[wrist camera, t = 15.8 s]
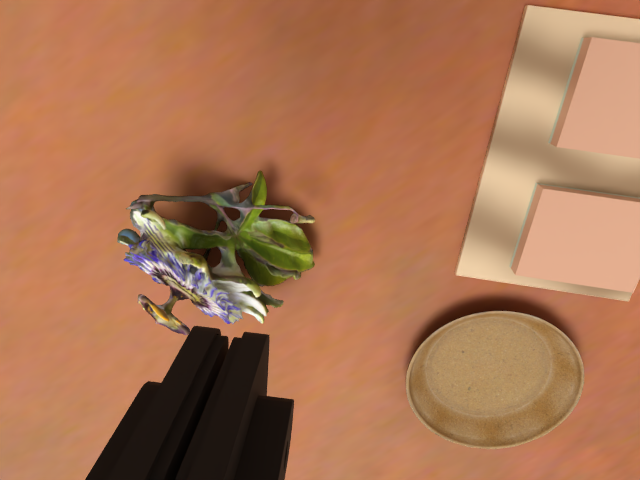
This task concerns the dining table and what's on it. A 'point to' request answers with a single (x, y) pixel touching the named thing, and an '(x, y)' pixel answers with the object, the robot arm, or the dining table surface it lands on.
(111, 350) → the dining table surface
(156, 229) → the passion flower
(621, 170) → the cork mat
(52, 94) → the dining table surface
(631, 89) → the tile
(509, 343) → the plant saucer
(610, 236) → the tile
